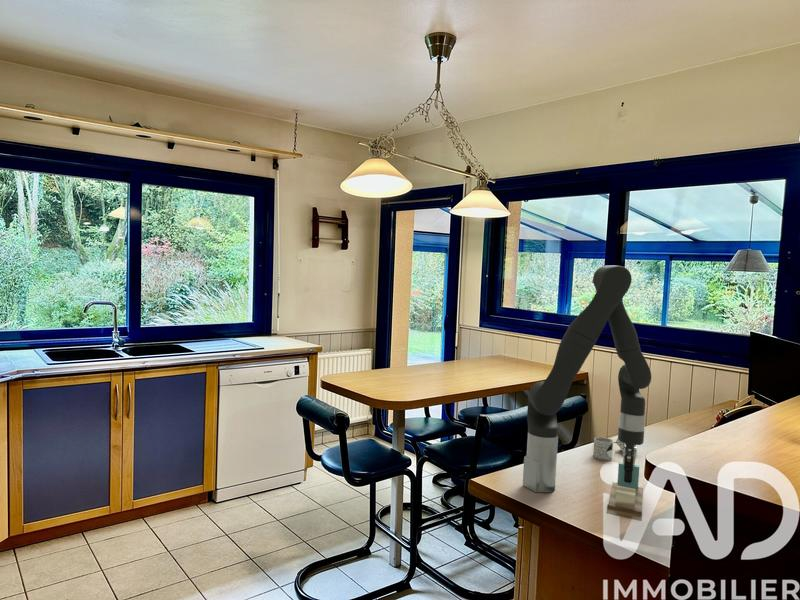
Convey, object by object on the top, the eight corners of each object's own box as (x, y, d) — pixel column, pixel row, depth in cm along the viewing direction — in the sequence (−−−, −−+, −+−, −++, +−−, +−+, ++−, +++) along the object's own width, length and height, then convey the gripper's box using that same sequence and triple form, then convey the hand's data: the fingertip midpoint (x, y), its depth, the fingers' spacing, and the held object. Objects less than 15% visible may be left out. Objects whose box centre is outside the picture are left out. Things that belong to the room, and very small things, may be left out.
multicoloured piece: (641, 524, 141) (643, 495, 141) (605, 516, 145) (607, 488, 145) (643, 491, 165) (644, 466, 164) (612, 485, 169) (614, 460, 168)
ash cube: (634, 512, 146) (635, 495, 146) (614, 508, 148) (616, 491, 148) (634, 506, 151) (635, 489, 150) (616, 502, 153) (617, 485, 153)
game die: (630, 462, 203) (643, 447, 197) (609, 452, 205) (622, 437, 199) (631, 445, 210) (644, 430, 204) (610, 436, 212) (623, 421, 206)
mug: (610, 461, 192) (611, 443, 192) (591, 457, 196) (592, 440, 195) (614, 454, 201) (615, 437, 201) (596, 450, 204) (597, 433, 204)
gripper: (644, 434, 157) (640, 490, 158) (644, 424, 169) (641, 476, 170) (617, 430, 160) (613, 485, 161) (619, 420, 173) (616, 471, 174)
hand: (627, 480), depth 166 cm, fingers closed on multicoloured piece, 2 cm apart
